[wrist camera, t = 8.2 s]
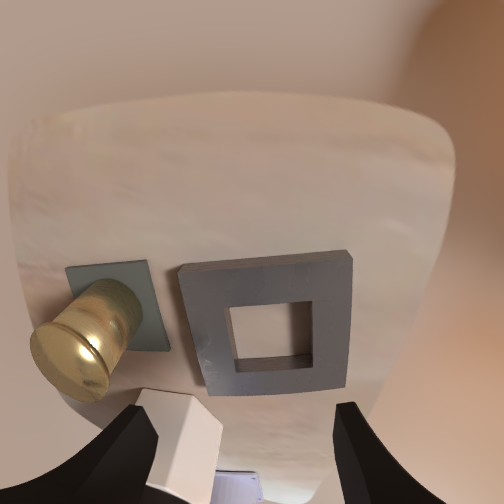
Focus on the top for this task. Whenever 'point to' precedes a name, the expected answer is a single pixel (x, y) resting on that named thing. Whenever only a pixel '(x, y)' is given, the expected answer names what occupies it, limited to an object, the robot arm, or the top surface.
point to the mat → (140, 283)
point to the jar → (180, 449)
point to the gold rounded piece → (88, 339)
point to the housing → (263, 293)
